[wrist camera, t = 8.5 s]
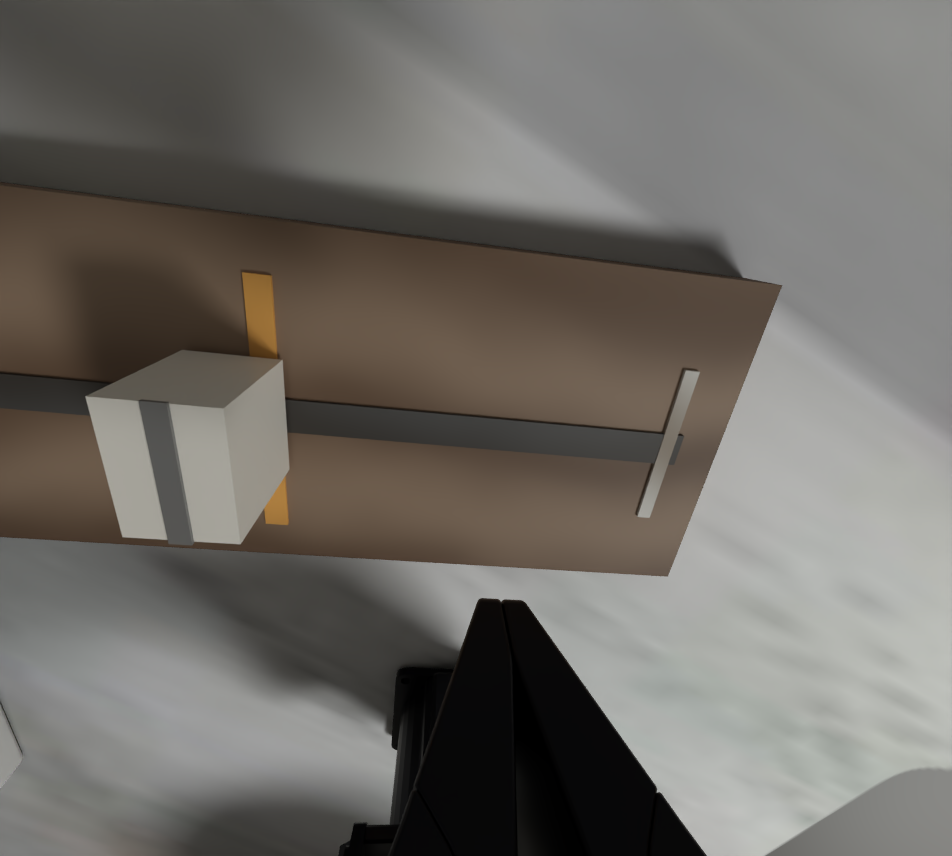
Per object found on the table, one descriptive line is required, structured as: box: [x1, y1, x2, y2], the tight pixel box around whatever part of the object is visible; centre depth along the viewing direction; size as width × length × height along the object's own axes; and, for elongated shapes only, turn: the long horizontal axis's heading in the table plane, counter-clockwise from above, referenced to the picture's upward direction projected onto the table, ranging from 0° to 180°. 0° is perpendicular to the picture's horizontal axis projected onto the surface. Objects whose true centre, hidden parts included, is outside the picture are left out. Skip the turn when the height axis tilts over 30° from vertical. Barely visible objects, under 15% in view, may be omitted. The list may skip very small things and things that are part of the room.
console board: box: [0, 182, 782, 576], centre depth 16 cm, size 12×32×2 cm, turn 83°
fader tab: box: [85, 350, 289, 545], centre depth 13 cm, size 4×3×4 cm
